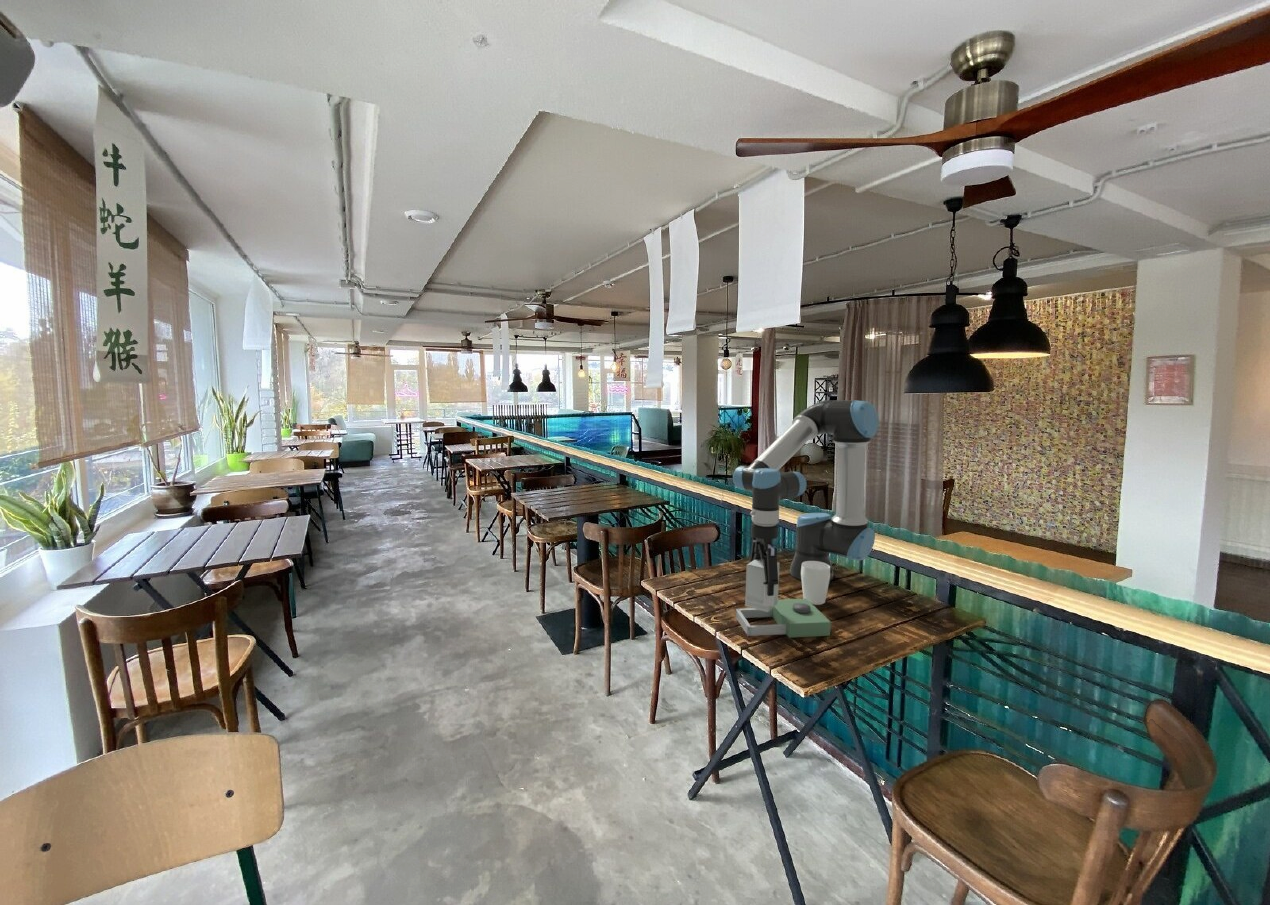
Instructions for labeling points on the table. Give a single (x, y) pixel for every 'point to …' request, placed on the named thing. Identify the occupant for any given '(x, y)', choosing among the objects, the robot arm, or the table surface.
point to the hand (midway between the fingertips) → (762, 597)
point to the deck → (787, 620)
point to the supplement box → (758, 586)
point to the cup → (815, 581)
